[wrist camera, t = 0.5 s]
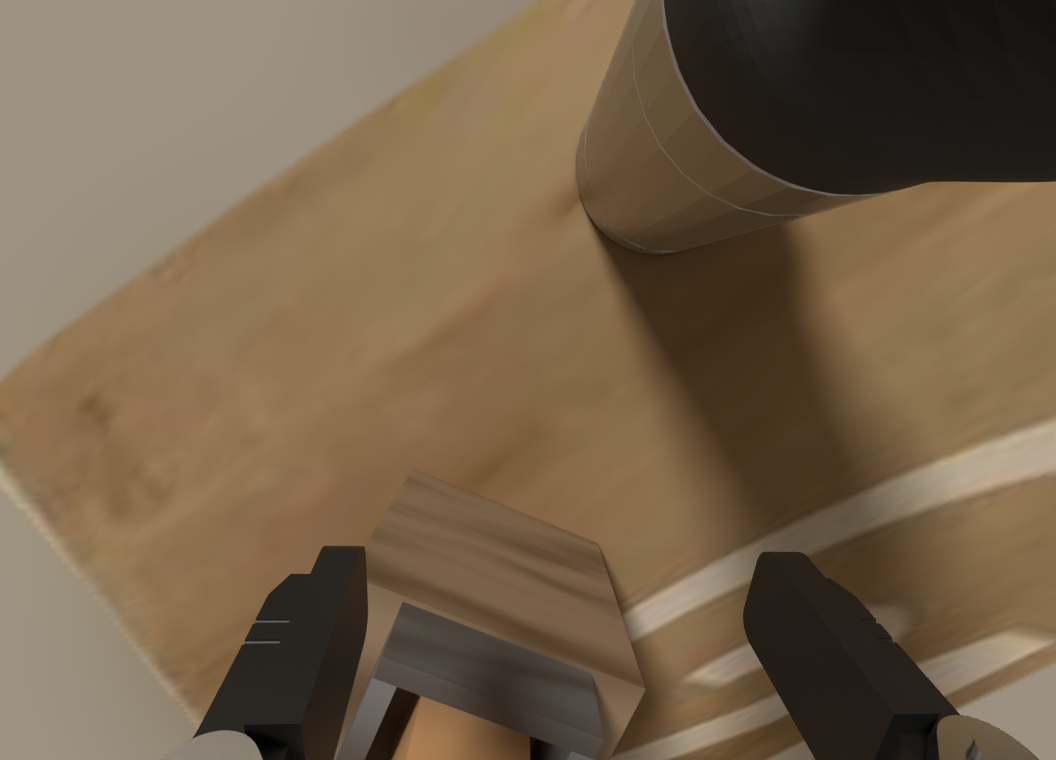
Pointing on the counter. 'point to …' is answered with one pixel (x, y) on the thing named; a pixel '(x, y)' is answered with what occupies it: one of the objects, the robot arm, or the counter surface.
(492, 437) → the counter surface
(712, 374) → the counter surface
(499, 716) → the square socket base
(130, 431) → the counter surface
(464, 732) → the plug
